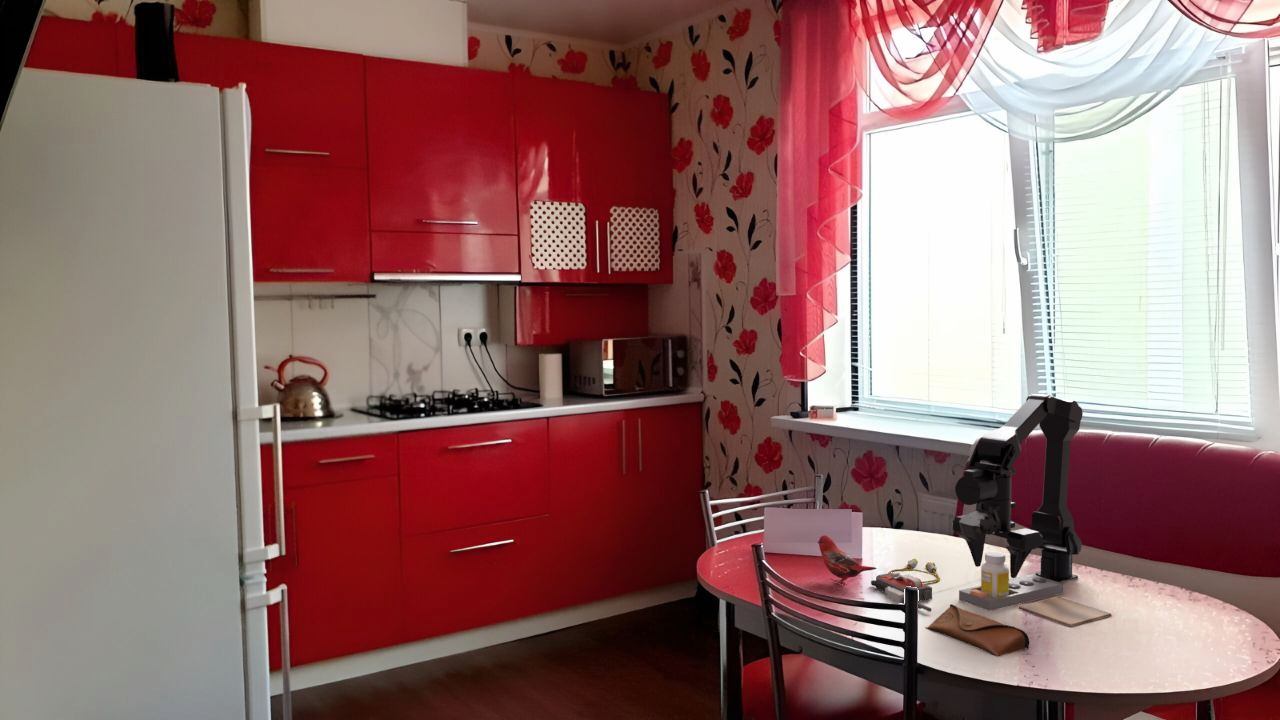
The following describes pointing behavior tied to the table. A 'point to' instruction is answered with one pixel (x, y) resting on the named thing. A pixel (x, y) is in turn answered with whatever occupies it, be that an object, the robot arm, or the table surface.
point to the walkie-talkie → (902, 587)
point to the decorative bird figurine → (839, 561)
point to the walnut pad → (1064, 611)
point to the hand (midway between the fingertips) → (995, 571)
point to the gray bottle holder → (1013, 592)
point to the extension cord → (928, 566)
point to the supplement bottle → (995, 575)
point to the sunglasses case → (980, 631)
